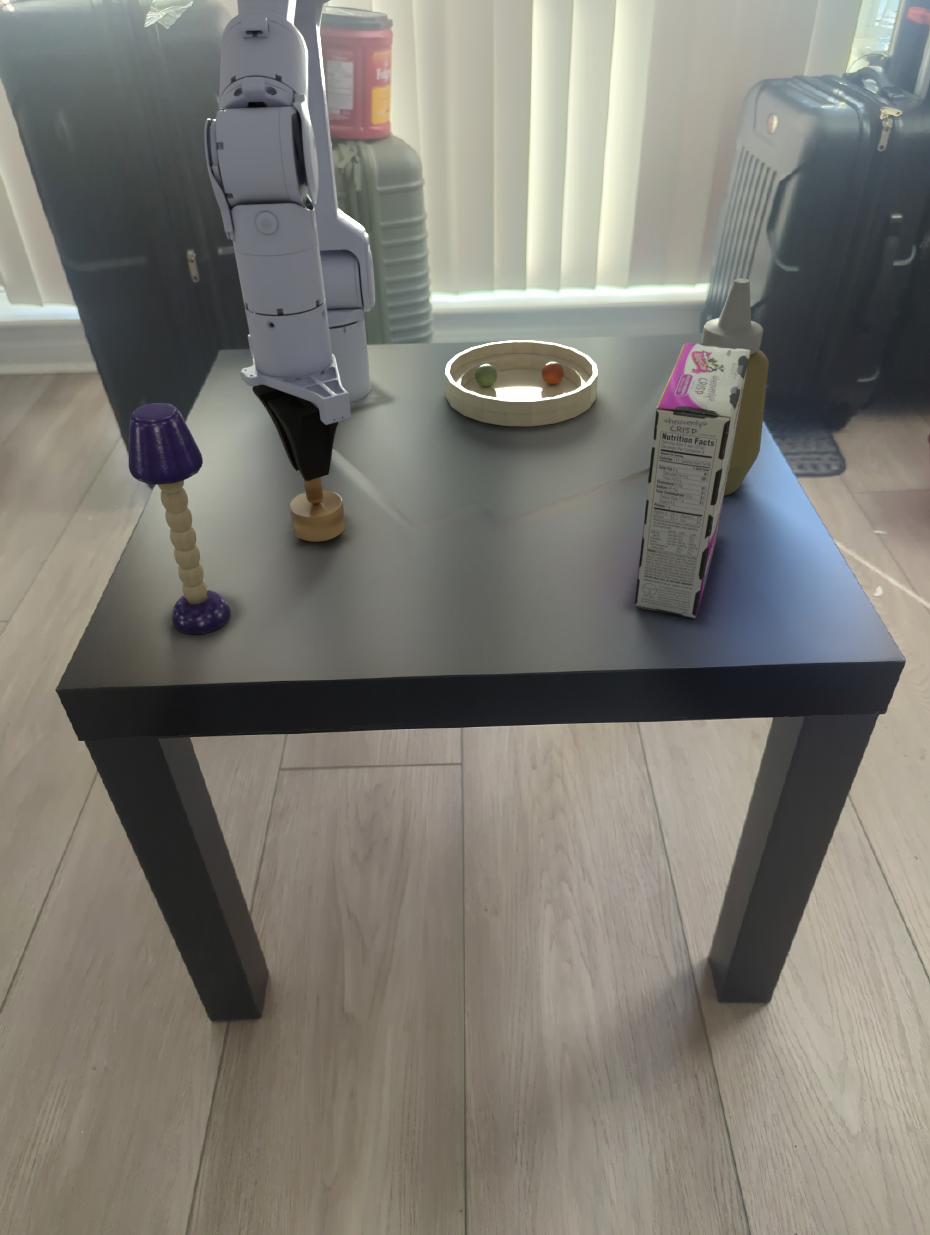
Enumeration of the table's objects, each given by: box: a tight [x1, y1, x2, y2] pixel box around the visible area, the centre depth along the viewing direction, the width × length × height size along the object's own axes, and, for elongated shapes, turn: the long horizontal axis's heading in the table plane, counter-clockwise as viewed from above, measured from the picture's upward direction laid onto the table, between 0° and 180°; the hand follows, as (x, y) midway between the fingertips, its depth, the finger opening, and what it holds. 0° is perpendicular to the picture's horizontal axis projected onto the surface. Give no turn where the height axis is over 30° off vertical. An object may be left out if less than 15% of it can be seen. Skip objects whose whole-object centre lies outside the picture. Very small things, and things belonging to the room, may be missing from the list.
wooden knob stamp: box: [289, 477, 346, 543], centre depth 70 cm, size 4×4×9 cm
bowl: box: [444, 340, 599, 427], centre depth 91 cm, size 16×16×4 cm
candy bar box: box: [634, 342, 750, 619], centre depth 62 cm, size 11×5×16 cm, turn 160°
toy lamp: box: [128, 402, 232, 635], centre depth 59 cm, size 5×5×17 cm
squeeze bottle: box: [700, 277, 770, 497], centre depth 72 cm, size 8×8×18 cm
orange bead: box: [542, 362, 564, 385], centre depth 93 cm, size 2×2×2 cm
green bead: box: [475, 364, 497, 387], centre depth 93 cm, size 2×2×2 cm
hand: (311, 471), depth 69 cm, fingers closed on wooden knob stamp
